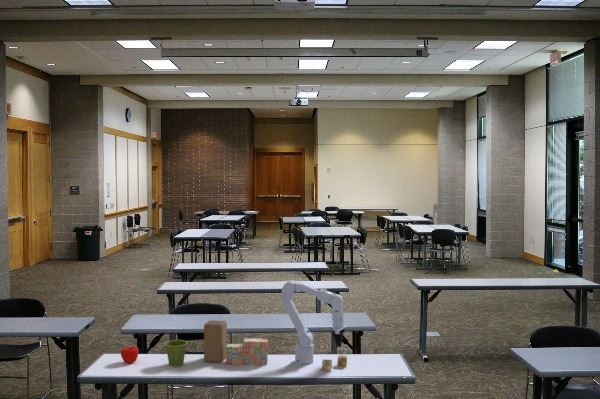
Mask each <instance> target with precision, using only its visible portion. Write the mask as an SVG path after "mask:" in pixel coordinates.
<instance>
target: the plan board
mask: <svg viewBox="0 0 600 399" xmlns="http://www.w3.org/2000/svg"><path fill="white" fill-rule="evenodd" d="M349 367H350V364H349V363H347V367H338V362H336V365H335V368H342V369H343V368H345V369H349Z"/></svg>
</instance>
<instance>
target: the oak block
mask: <svg viewBox="0 0 600 399" xmlns="http://www.w3.org/2000/svg"><path fill="white" fill-rule="evenodd" d="M337 363H338V367H337V368H339V367H347V364H348V355H340V354H339V355H338V356H337Z"/></svg>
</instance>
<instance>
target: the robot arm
mask: <svg viewBox="0 0 600 399" xmlns="http://www.w3.org/2000/svg"><path fill="white" fill-rule="evenodd" d="M299 292H304V293H307V294H309V295H312V296H315V297H316V298H317V300H319V301H321V302H324V303H327V304H329V305H330V306H331V316H332V317H331V318H332V320H331V321H332V330H334V332H332V336H333V338H334V342H335V345H336V348H338V347H339V348H340V347H342V343H343V340H344V333H345V330H346V328H347V326H346V325H345V323H344V321H345V320H344V309H343V296H342V295H340V294H338V293H335V292H331V291H328V290H327V289H326V288H324V289H323V288H321V289H319V290H318V289H316V288H315V287H312V286H310V285H307V284H305V283H303V282H301V281H299V280H294V279H289V280H287V281H286V282H285V283H284V284H283V286H282V288H281V298H280V300H281V303H282V305H283V307H284V309H285V311H286V313H287V315H288V317H289V318H290V320H291V323H292V324H293V326H294V328H295V330H296V333H297V337H298V340H299V345H296V346H295V350H294V355H295V356H294V357H295V358H294V364H295V365H309V364H313V363H314V344H313V341H314V338H315V337H314V333H312V332H311V331H310V330H309V328H308V327H307V326H306V325H305V323H304V321H303V319H302V316H301V315H300V313H299V311H298V310H297V308H296V305H295V303H294V302H293V296H294V294H295V293H299Z"/></svg>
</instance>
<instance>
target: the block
mask: <svg viewBox="0 0 600 399" xmlns="http://www.w3.org/2000/svg"><path fill="white" fill-rule="evenodd" d="M227 333H228V324H227V321H226V320H215V319H211V320H210V319H209V320H208V321H207V322H206V323H205V324H204V325H203V362H208V363H222V362H223V361H224V360H226V346H227V344H228V339H227V338H228V334H227Z"/></svg>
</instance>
